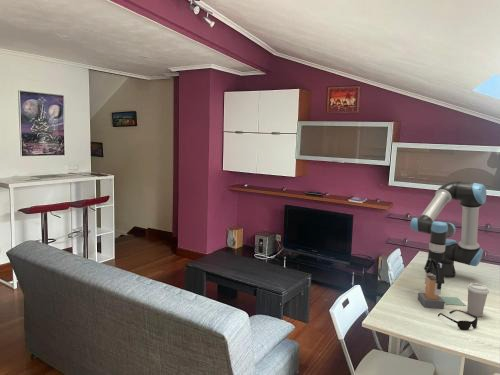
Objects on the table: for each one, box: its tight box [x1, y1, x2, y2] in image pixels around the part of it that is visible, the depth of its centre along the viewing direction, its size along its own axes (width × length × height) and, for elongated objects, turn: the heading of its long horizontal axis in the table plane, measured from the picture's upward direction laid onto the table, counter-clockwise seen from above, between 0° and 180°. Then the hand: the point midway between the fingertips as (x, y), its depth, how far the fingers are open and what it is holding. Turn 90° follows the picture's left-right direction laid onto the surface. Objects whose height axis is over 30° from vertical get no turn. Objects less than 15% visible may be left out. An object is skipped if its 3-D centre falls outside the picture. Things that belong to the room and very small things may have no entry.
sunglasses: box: [437, 309, 479, 331], centre depth 183 cm, size 14×16×5 cm
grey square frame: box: [417, 292, 446, 310], centre depth 201 cm, size 10×10×4 cm
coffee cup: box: [466, 282, 490, 318], centre depth 191 cm, size 10×10×15 cm
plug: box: [424, 275, 438, 300], centre depth 200 cm, size 5×5×15 cm
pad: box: [439, 295, 467, 307], centre depth 206 cm, size 10×10×1 cm
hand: (432, 289), depth 200 cm, fingers open, 13 cm apart
